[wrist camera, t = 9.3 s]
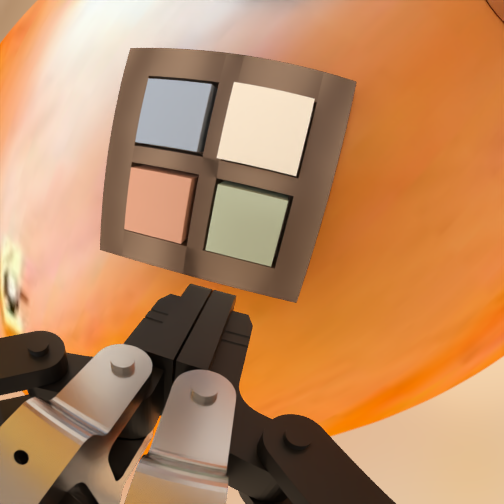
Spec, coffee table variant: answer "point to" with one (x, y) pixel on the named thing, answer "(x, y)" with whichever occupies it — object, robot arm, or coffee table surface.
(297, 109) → the cream key
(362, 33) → the coffee table surface
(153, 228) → the terracotta key
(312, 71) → the keypad housing
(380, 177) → the coffee table surface
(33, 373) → the robot arm
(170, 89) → the slate key
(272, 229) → the sage key
